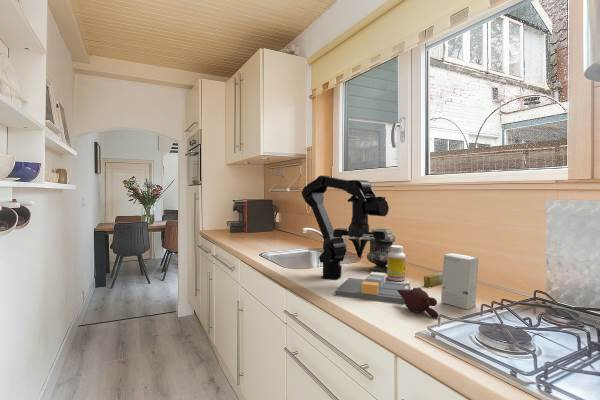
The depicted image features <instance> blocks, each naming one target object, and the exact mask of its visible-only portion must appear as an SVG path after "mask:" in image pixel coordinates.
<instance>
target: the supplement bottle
mask: <svg viewBox="0 0 600 400" xmlns="http://www.w3.org/2000/svg"><path fill="white" fill-rule="evenodd" d="M390 249H391V252H389V253H388V264H387V267H388V273H387V279H388V280H390V281H392V282H393V281H394V282H402V281H405V280H406V254H405V253H404V252H403V250H404V246H403V245H398V244H397V245H393V244H392V246H390Z"/></svg>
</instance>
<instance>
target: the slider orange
mask: <svg viewBox="0 0 600 400" xmlns="http://www.w3.org/2000/svg"><path fill="white" fill-rule="evenodd" d="M361 293H364V294H372V295H378V293H379V283H376V282H367V281H363V282H362V284H361Z"/></svg>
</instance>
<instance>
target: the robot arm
mask: <svg viewBox="0 0 600 400" xmlns="http://www.w3.org/2000/svg"><path fill="white" fill-rule="evenodd" d="M328 187H329V188H333V189H338V190H341V191H345V192H346V193H347V194H349V195H351V196H350V197H348V199H347V202H348V203H352V204H351V206H352V209H351V215H352V216H351V222H350V224H349V226H348V227H347V228H345V227H344V228H341V227H339V228H335V229H334V228H333V225H332V222H331V221H330V218H329V215H328V213H327V210H326V208H325V205H324V198H325V196H324V194H325V193H326V191H327V190H328ZM301 196H302V198H303V200H304V202H305V203H306V204H307V205H308V206H309V207H310V208H311V210H312V213H313V215H314V217H315V220H316V223H317V225H318V227H319V230H320V232H321V236H322V237H323V243H322V249H323V251H322V253H321V254H320V255H319V257H318V259H319V262H320V263H322V275H321V279H329V280H339V279H340V278H341V277H342V265H341V262H343V261H344V258H345V256H346V253H347V244H345V241H344V240H345V239H344V238H343V237H344V236H348V241H351V243H352V244H353V247H354V250H355V252H356V255H357V258H359V259H361V258H362V255H363V252H364V250H365V248H366V245H367V243H368V242H370V240H371V238H370V237H374V238H375V239H376V240H385V239H387V232H386V231H385V230H375V231H374V232H371V231H370V224H369V216H374V217H375V216H376V217H386V216H387V215H388V213H389V209H390V208H389V207H390V206H389V203H388V201H387V200H386V196H377V194H376V193H375V191H374V190H373V188H372V185H371V183H370V181H369V180H363V179H351V180H348V179H344V178H338V177H333V176H329V175H323V174H322V175H319V176H317V178H315V179H314V180H312V181H311V182H309V183H307V185H305V186H304V187H303V188H302V191H301Z"/></svg>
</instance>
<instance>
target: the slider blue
mask: <svg viewBox="0 0 600 400" xmlns="http://www.w3.org/2000/svg"><path fill="white" fill-rule="evenodd" d="M365 280H366V281H367V282H376V283H379V289H381V288H382V280H383V278H380V277H370V275H369V276H366V278H365Z"/></svg>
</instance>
